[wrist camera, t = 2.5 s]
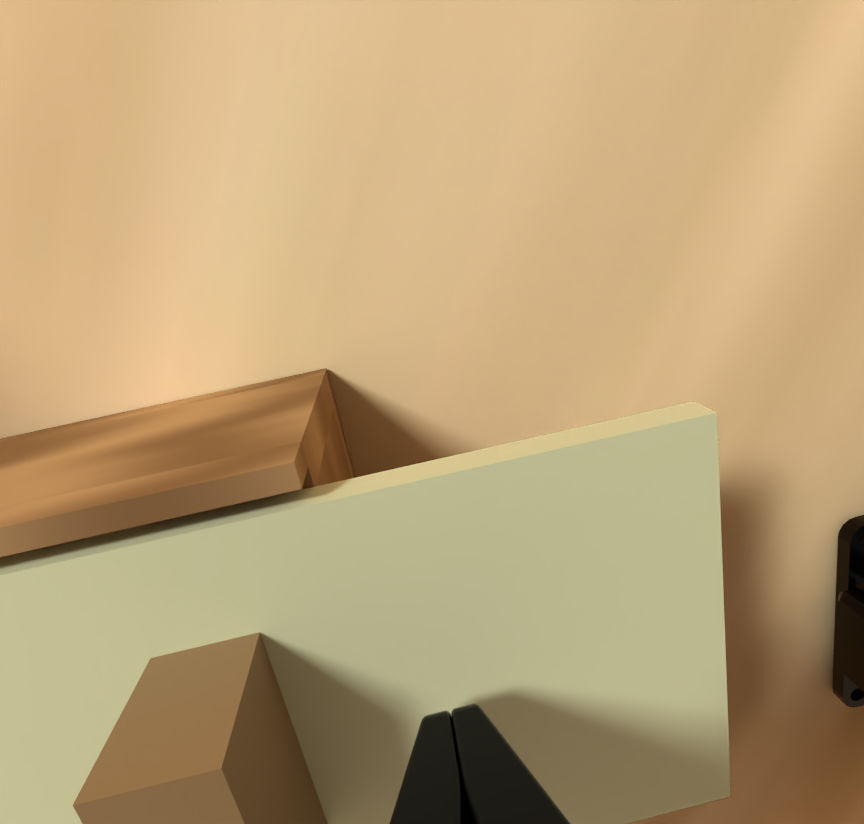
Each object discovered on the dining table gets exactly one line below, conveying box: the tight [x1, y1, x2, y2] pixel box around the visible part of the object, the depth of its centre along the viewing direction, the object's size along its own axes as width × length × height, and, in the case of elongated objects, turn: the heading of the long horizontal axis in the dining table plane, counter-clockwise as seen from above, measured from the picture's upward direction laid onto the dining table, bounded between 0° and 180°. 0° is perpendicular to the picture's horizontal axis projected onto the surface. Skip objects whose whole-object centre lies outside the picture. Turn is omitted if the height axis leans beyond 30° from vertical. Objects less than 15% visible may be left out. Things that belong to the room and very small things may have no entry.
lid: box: [0, 401, 731, 824], centre depth 8 cm, size 15×8×3 cm, turn 102°
